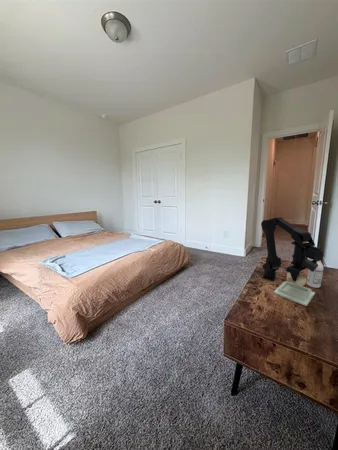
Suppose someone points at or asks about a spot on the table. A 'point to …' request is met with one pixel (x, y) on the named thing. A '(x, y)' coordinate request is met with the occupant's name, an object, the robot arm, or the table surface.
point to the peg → (299, 280)
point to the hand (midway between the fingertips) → (295, 279)
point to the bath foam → (315, 276)
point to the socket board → (295, 292)
